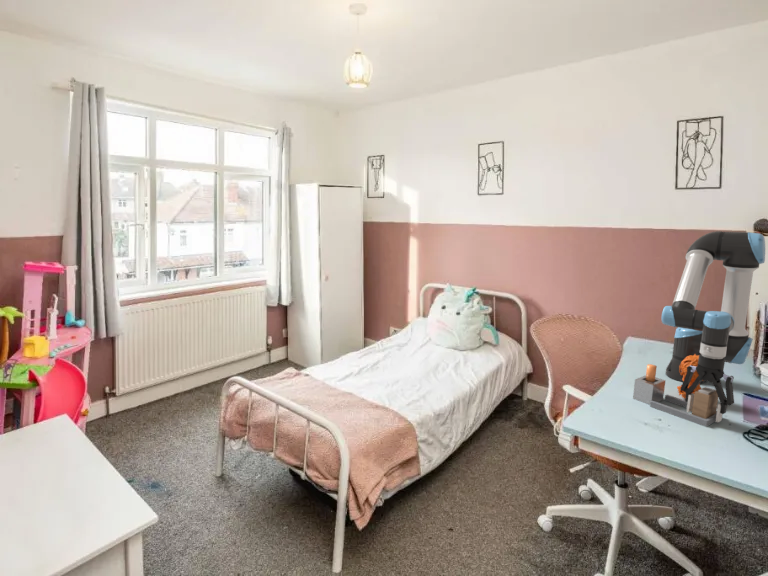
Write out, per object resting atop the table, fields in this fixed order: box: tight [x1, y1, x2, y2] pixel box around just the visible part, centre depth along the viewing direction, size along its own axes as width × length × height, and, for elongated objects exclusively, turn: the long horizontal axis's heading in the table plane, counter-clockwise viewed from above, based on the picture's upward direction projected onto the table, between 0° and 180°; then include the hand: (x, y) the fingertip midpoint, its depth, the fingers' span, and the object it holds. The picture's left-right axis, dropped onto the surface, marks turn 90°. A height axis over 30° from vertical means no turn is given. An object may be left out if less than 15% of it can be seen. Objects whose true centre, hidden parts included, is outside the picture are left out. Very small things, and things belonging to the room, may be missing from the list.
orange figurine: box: [676, 354, 703, 399], centre depth 182 cm, size 11×11×18 cm
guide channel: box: [649, 394, 717, 428], centre depth 171 cm, size 12×19×2 cm, turn 33°
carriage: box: [691, 386, 719, 419], centre depth 165 cm, size 8×4×11 cm, turn 123°
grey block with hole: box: [632, 374, 666, 406], centre depth 182 cm, size 9×7×8 cm
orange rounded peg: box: [645, 363, 657, 382], centre depth 180 cm, size 3×3×6 cm
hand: (703, 416), depth 166 cm, fingers open, 9 cm apart
